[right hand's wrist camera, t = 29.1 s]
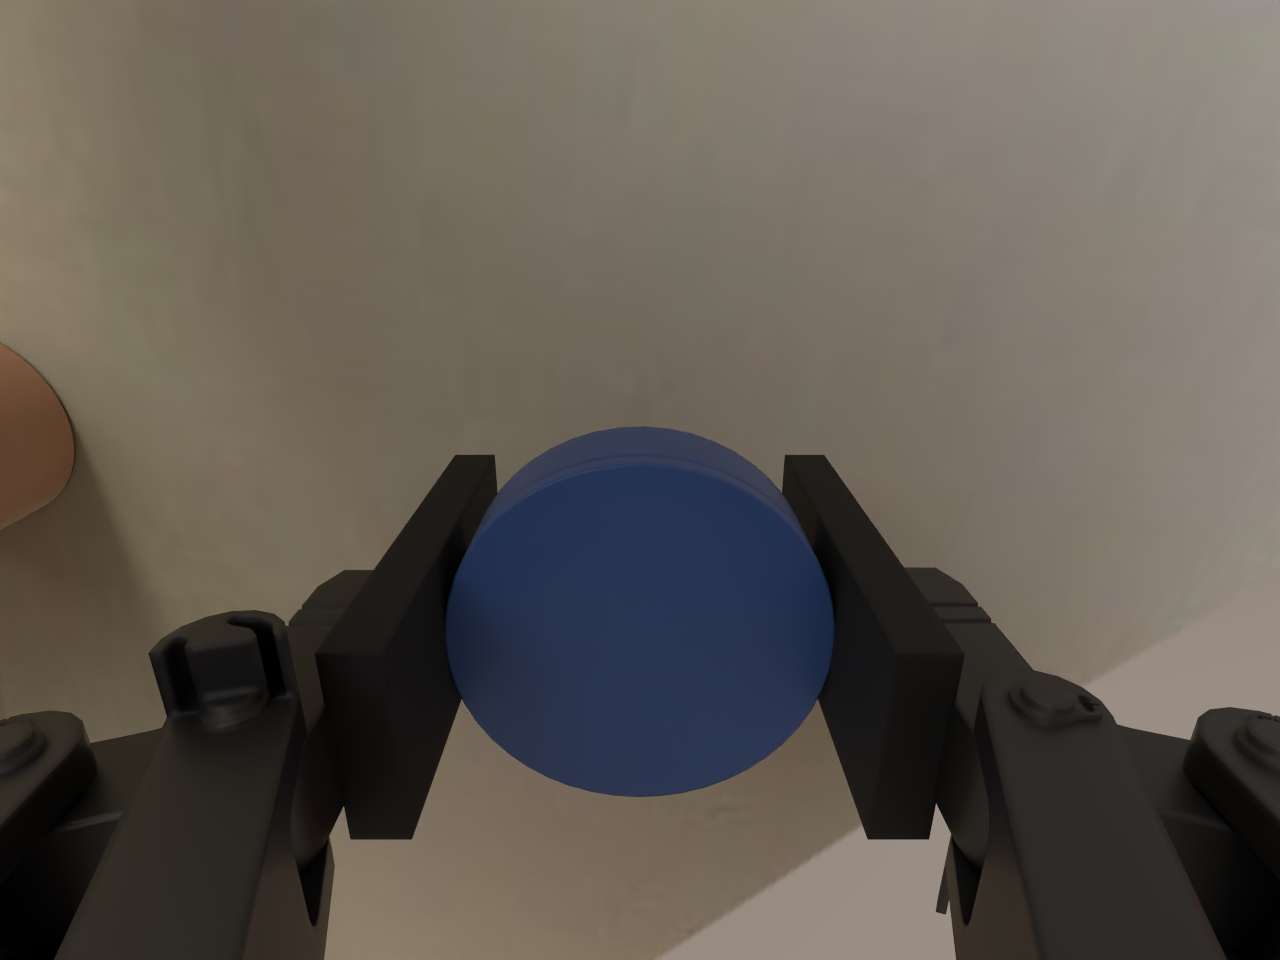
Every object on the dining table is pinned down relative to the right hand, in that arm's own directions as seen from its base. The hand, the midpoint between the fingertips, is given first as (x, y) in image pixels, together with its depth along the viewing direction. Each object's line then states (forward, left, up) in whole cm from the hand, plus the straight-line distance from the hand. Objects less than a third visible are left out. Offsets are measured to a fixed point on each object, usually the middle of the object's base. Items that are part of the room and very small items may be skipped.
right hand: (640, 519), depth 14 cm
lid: (0, 0, +4) cm, 4 cm away
